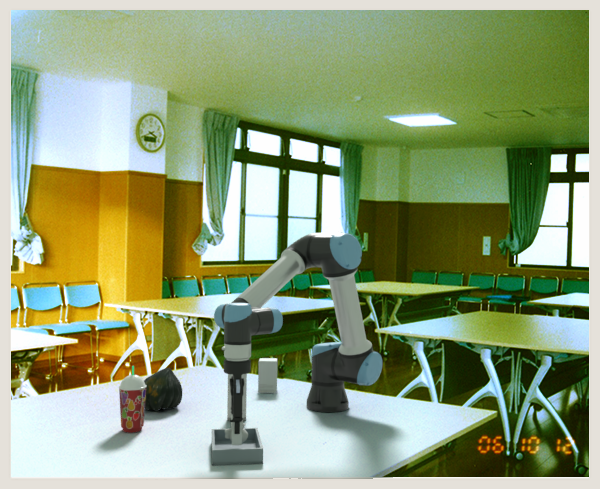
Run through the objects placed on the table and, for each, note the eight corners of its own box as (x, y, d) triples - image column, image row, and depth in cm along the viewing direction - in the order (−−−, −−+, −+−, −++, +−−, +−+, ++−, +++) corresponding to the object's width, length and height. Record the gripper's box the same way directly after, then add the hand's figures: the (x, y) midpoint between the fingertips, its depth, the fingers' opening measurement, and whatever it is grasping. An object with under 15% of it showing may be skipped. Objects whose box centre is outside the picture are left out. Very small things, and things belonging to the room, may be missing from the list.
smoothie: (151, 428, 204) (152, 364, 204) (136, 435, 196) (137, 369, 196) (128, 425, 206) (129, 362, 206) (112, 432, 198) (113, 367, 198)
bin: (257, 441, 191) (257, 427, 191) (263, 463, 172) (263, 448, 172) (211, 442, 189) (211, 429, 189) (212, 465, 170) (212, 450, 170)
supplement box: (276, 393, 253) (276, 361, 253) (257, 393, 253) (258, 361, 253) (277, 389, 260) (277, 357, 260) (259, 389, 260) (259, 357, 260)
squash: (124, 394, 225) (149, 364, 221) (150, 387, 238) (174, 359, 235) (149, 425, 220) (175, 395, 217) (173, 416, 234) (198, 388, 231)
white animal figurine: (247, 445, 178) (248, 416, 178) (223, 445, 178) (224, 416, 178) (248, 439, 184) (248, 411, 184) (224, 439, 183) (225, 411, 183)
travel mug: (244, 422, 211) (244, 361, 211) (224, 421, 212) (225, 360, 212) (249, 417, 217) (250, 358, 217) (230, 416, 218) (231, 357, 218)
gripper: (222, 353, 189) (221, 432, 189) (224, 364, 171) (223, 452, 171) (248, 352, 190) (247, 431, 190) (253, 364, 172) (251, 451, 172)
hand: (236, 441), depth 181 cm, fingers closed on white animal figurine, 5 cm apart
